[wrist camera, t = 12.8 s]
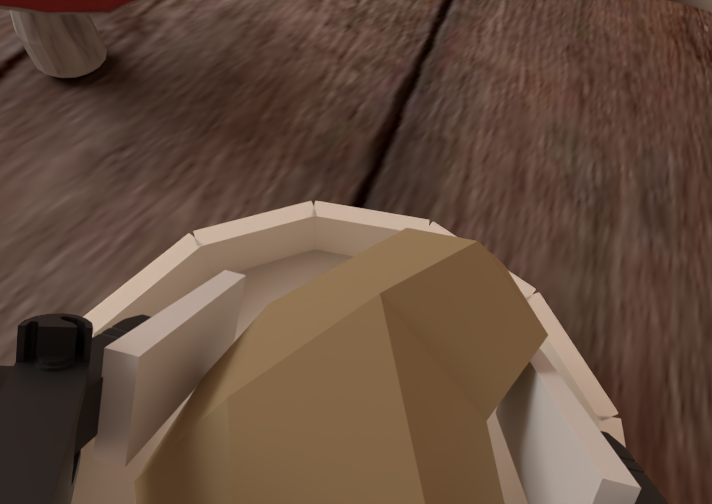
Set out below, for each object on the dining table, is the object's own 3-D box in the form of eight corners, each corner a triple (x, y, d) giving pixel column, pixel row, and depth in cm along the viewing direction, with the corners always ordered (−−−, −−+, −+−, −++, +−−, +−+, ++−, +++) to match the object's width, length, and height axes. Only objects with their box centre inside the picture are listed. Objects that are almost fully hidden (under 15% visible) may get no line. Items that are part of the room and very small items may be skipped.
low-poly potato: (265, 860, 12) (757, 876, 9) (-232, 1010, 5) (1042, 1260, 2) (301, 373, 23) (527, 309, 20) (156, 223, 16) (461, 93, 14)
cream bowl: (-66, 510, 19) (-157, 506, 15) (308, 187, 30) (307, 139, 26) (383, 1110, 13) (415, 1350, 9) (649, 424, 24) (712, 405, 20)
